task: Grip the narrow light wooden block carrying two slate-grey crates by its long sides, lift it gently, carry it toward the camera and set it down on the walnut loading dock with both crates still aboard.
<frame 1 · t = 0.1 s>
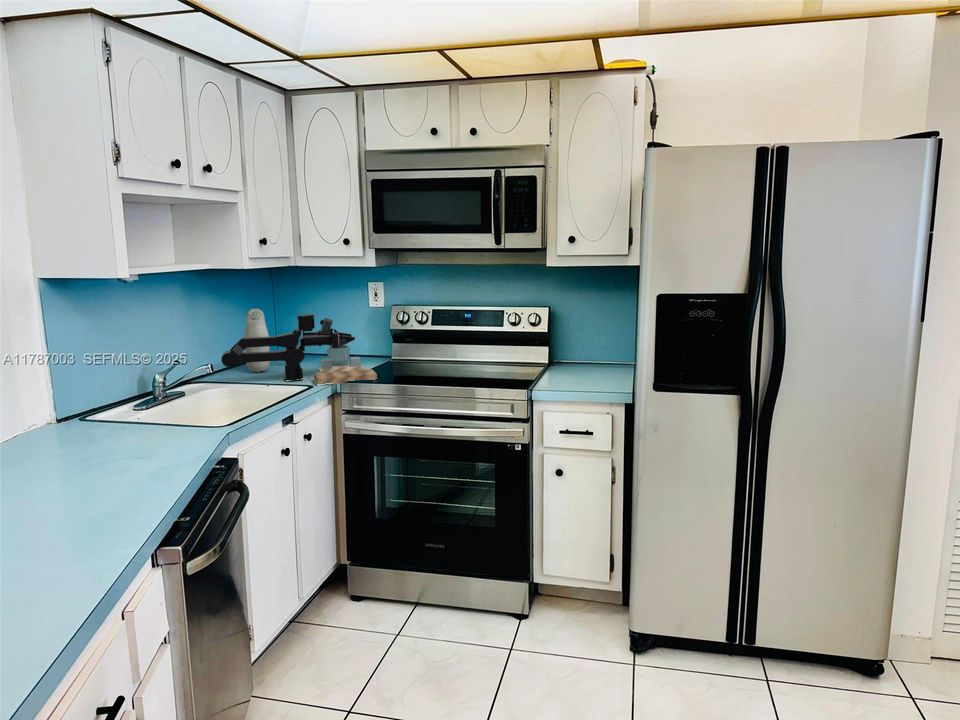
hand: (353, 336, 292), 17 cm above the countertop, tool horizontal, fingers open, 9 cm apart
crate a: (326, 368, 292), point 4 cm above the countertop, touching light wooden block
flower pot: (339, 366, 316), on the countertop
grey bottle: (259, 372, 305), on the countertop
crate b: (355, 365, 296), point 4 cm above the countertop
light wooden block: (341, 376, 295), on the countertop, touching crate a
dock: (345, 380, 284), on the countertop
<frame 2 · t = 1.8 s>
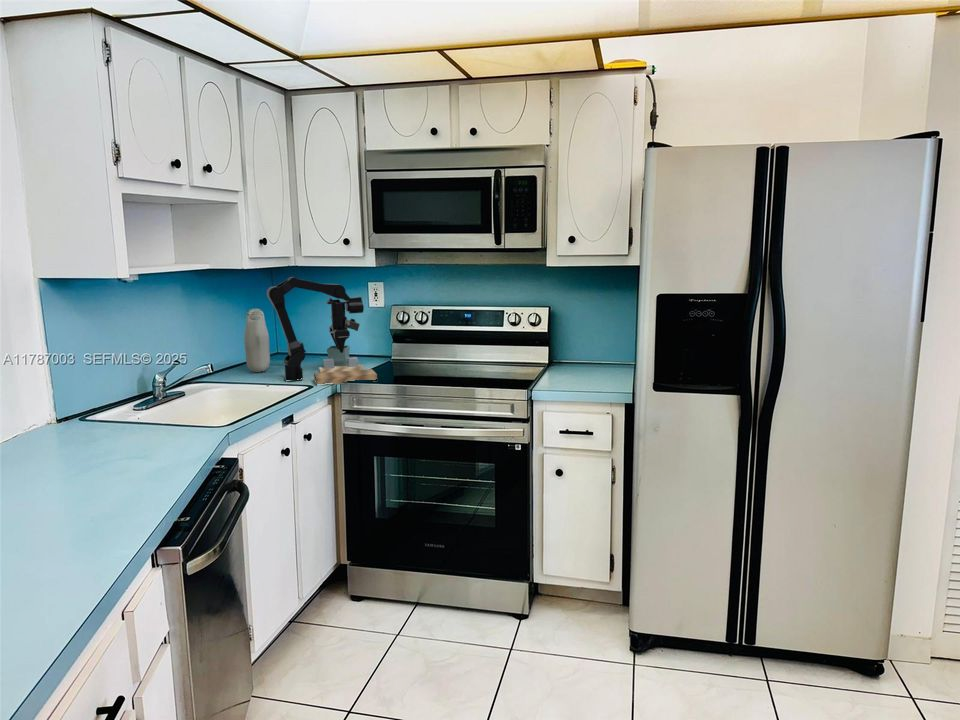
hand: (340, 350, 293), 11 cm above the countertop, tool pointing down, fingers open, 9 cm apart
crate b: (352, 366, 296), point 4 cm above the countertop, touching light wooden block
light wooden block: (341, 376, 295), on the countertop, touching crate a, crate b
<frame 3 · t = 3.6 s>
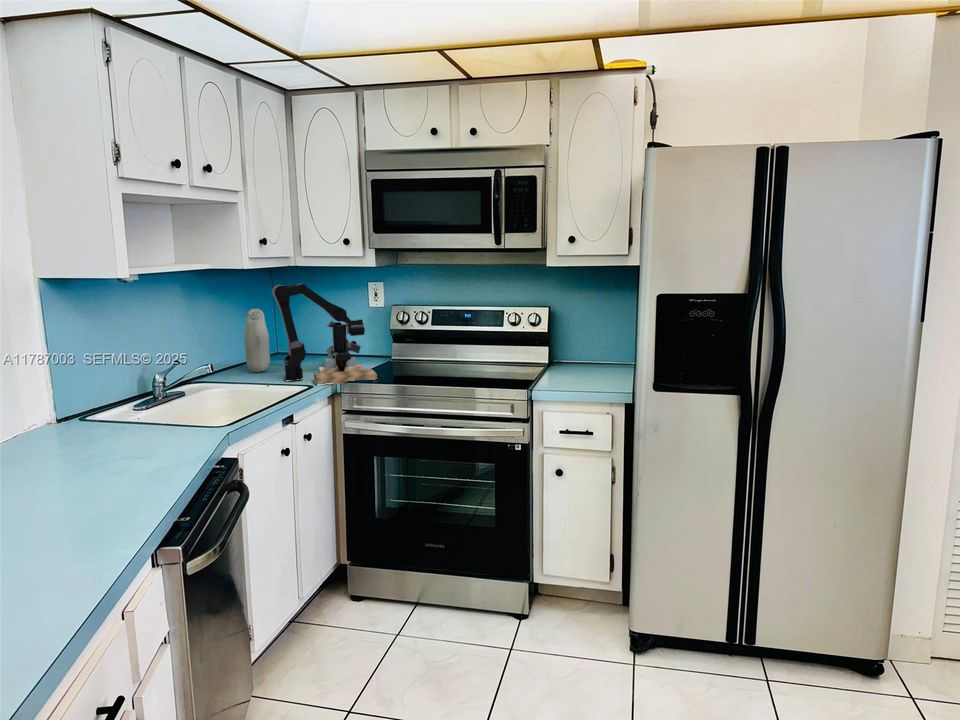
hand: (341, 373, 295), 1 cm above the countertop, tool pointing down, fingers closed on light wooden block, 6 cm apart
light wooden block: (341, 376, 295), on the countertop, touching crate a, crate b, gripper
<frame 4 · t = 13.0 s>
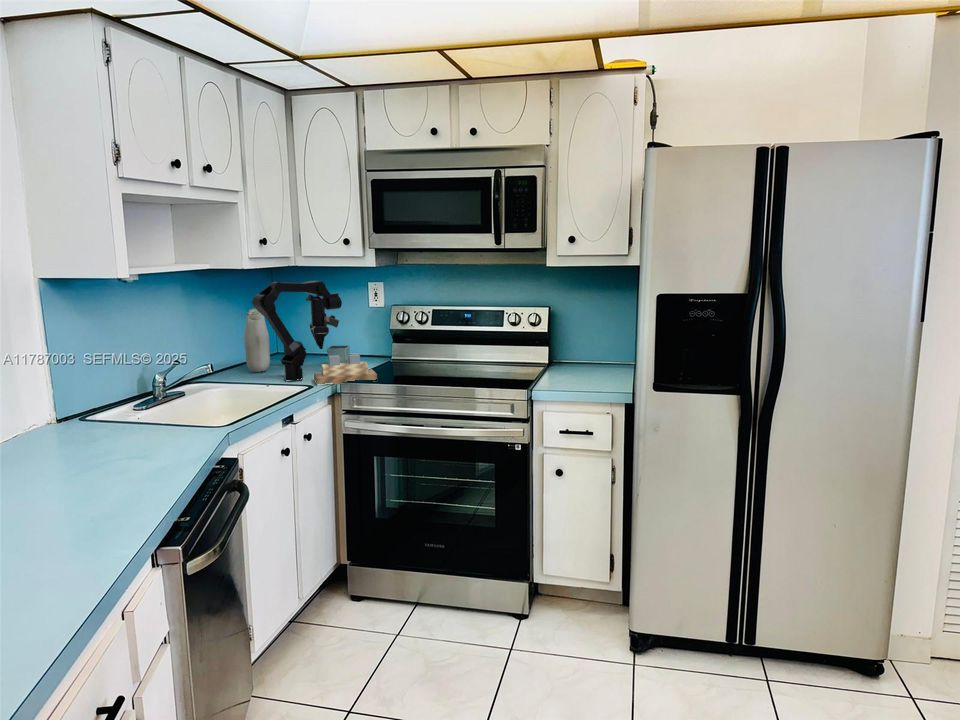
hand: (319, 347, 294), 12 cm above the countertop, tool pointing down, fingers open, 9 cm apart
crate a: (334, 364, 281), point 7 cm above the countertop, touching light wooden block
crate b: (354, 363, 284), point 7 cm above the countertop, touching light wooden block
light wooden block: (345, 373, 283), point 3 cm above the countertop, touching crate a, crate b, dock
everything else where it was.
at the end: light wooden block inside the target area on the dock (0.0 cm from its centre), point 3.0 cm above the dock's base; crate a inside the target area on the light wooden block (4.1 cm from its centre), point 4.0 cm above the light wooden block's base; crate b inside the target area on the light wooden block (4.0 cm from its centre), point 4.0 cm above the light wooden block's base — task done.
